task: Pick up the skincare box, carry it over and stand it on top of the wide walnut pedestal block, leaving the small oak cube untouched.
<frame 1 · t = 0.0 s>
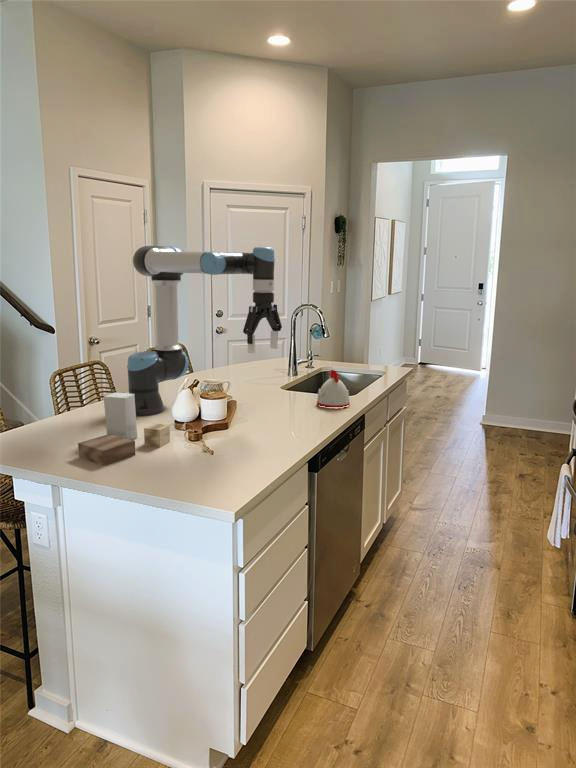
hand: (262, 350, 213), 28 cm above the countertop, fingers open, 13 cm apart
oak cube: (157, 443, 195), on the countertop
walnut pedestal: (107, 457, 182), on the countertop
kitchen timer: (333, 405, 250), on the countertop
skincare box: (121, 439, 199), on the countertop
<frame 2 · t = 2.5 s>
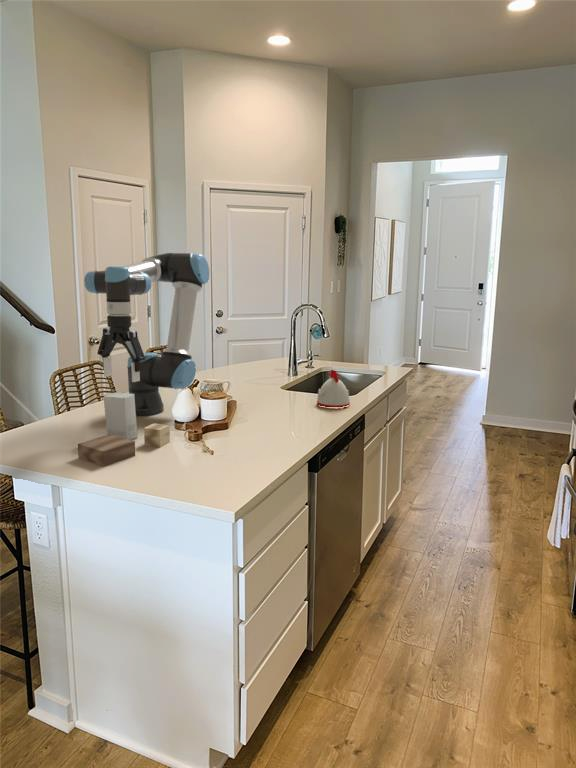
hand: (121, 378, 195), 21 cm above the countertop, fingers open, 13 cm apart
nothing on the countertop moved.
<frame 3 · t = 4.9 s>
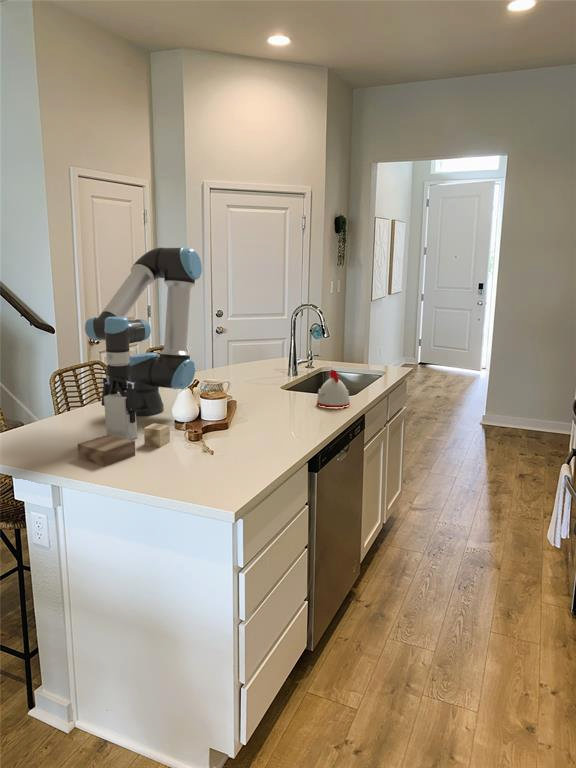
hand: (121, 429, 198), 4 cm above the countertop, fingers closed on skincare box, 9 cm apart
skincare box: (121, 439, 199), on the countertop, touching gripper
everything else where it was.
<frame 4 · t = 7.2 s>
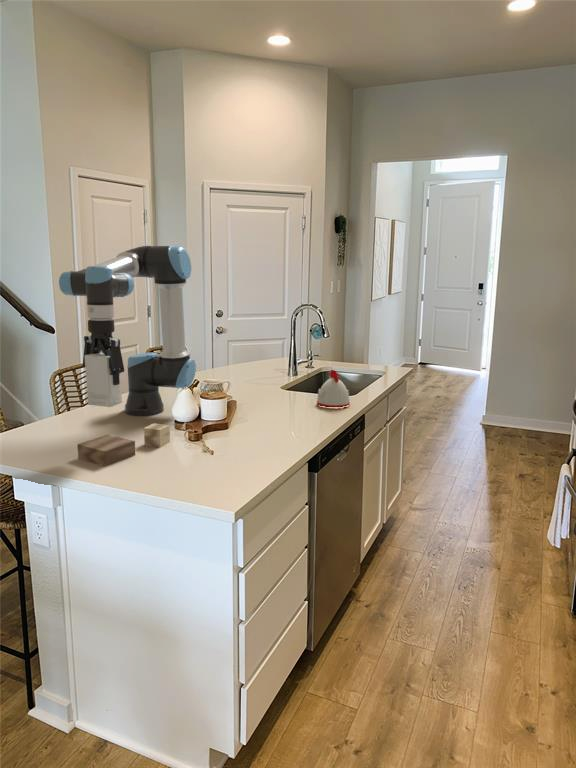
hand: (104, 392, 178), 20 cm above the countertop, fingers closed on skincare box, 9 cm apart
skincare box: (104, 404, 179), point 16 cm above the countertop, touching gripper
everything else where it was.
when the fingers open (10 cm above the countertop, at t = 9.5 s): skincare box drops 2 cm, resting on walnut pedestal.
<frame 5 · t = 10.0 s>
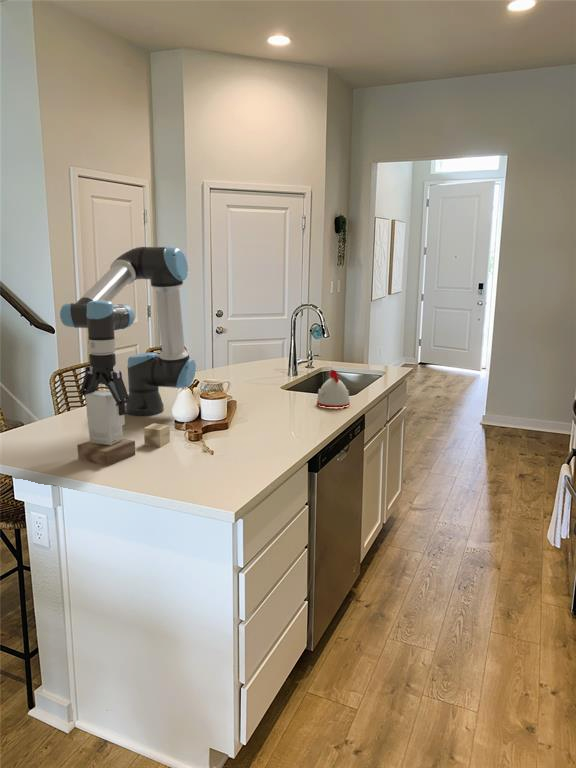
hand: (105, 421, 180), 11 cm above the countertop, fingers open, 13 cm apart
walnut pedestal: (107, 458, 182), on the countertop, touching skincare box
skincare box: (105, 442, 181), point 4 cm above the countertop, touching walnut pedestal
everything else where it was.
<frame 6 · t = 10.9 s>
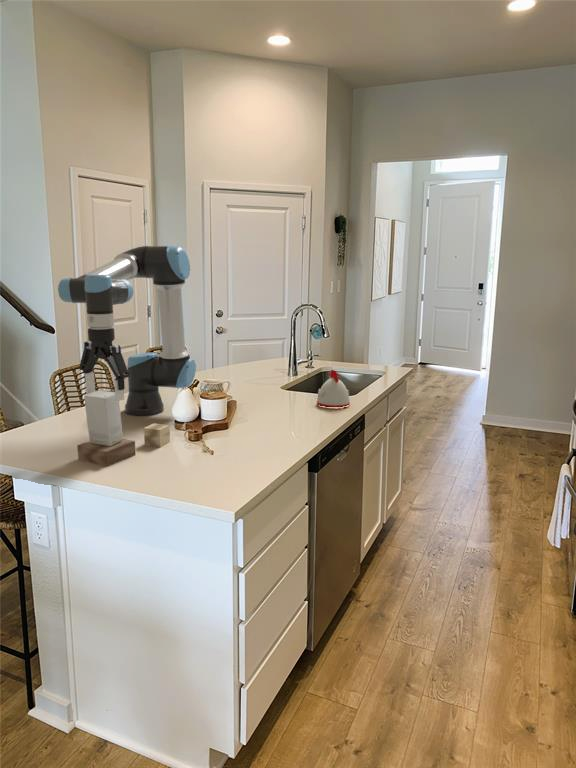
hand: (105, 396, 179), 19 cm above the countertop, fingers open, 13 cm apart
walnut pedestal: (107, 458, 181), on the countertop
skincare box: (105, 442, 181), point 5 cm above the countertop
everything else where it was.
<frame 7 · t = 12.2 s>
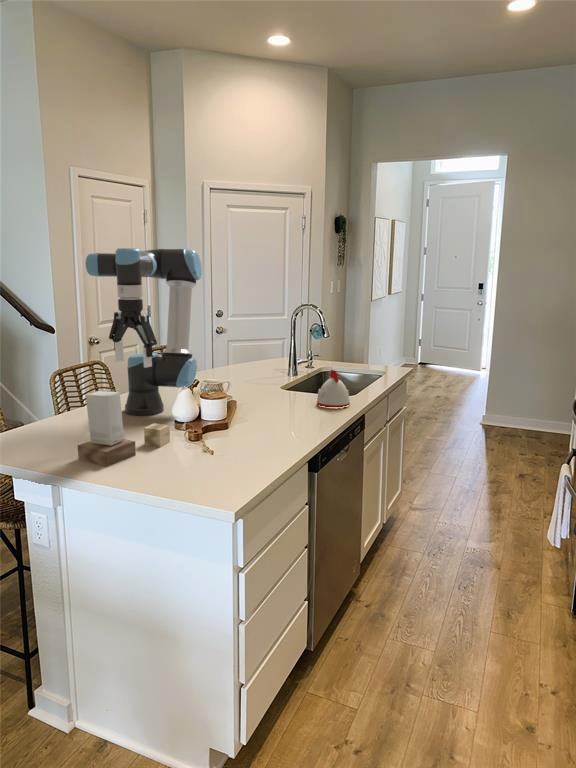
hand: (133, 364, 190), 27 cm above the countertop, fingers open, 13 cm apart
walnut pedestal: (107, 458, 181), on the countertop, touching skincare box
skincare box: (106, 442, 181), point 4 cm above the countertop, touching walnut pedestal
everything else where it was.
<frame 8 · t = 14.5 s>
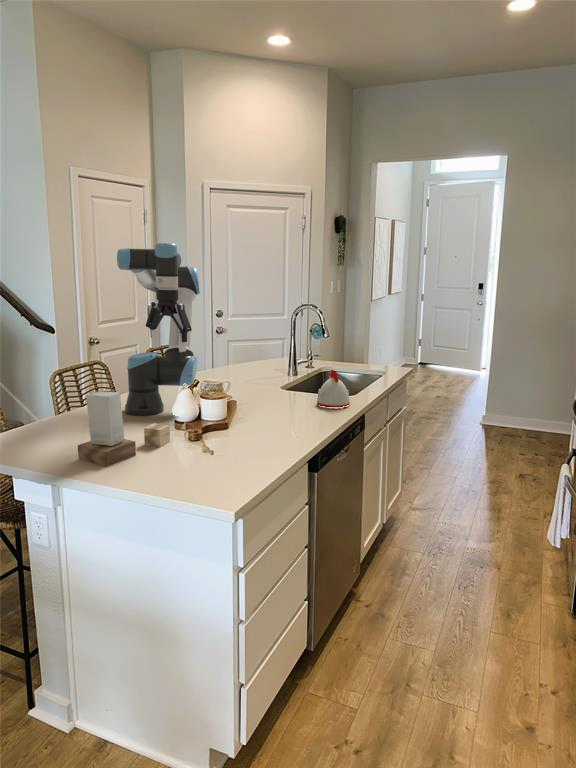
hand: (168, 349, 207), 29 cm above the countertop, fingers open, 13 cm apart
walnut pedestal: (107, 458, 181), on the countertop
skincare box: (107, 443, 180), point 5 cm above the countertop
everything else where it was.
at the end: skincare box inside the target area on the walnut pedestal (0.1 cm from its centre), point 5.0 cm above the walnut pedestal's base; skincare box tilted 2°; the gripper is holding nothing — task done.
